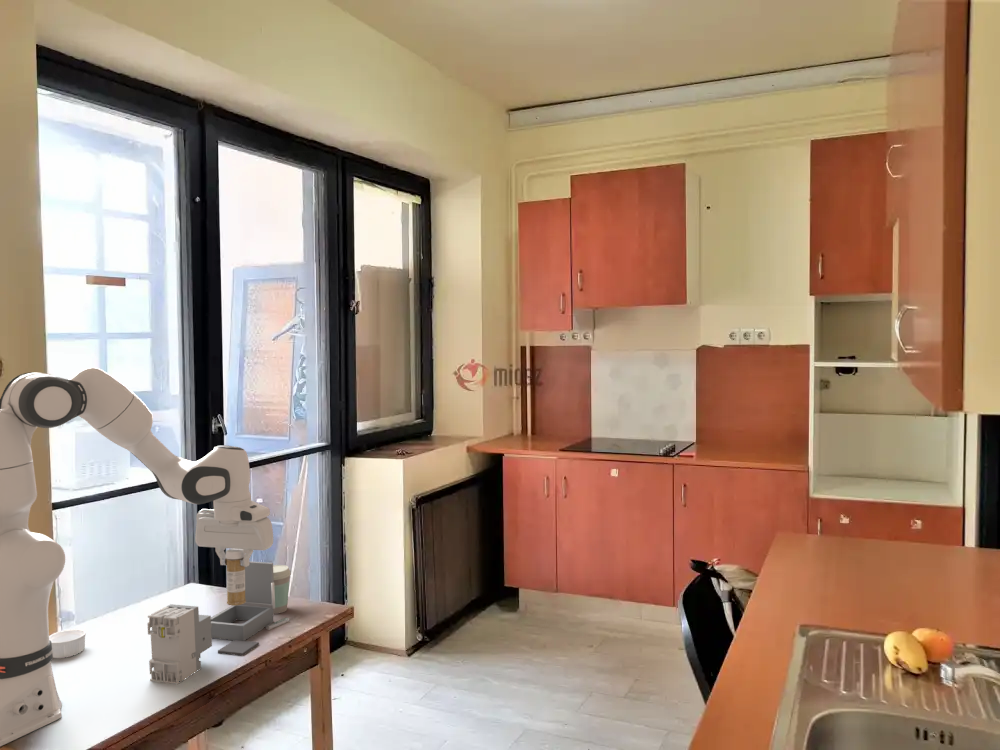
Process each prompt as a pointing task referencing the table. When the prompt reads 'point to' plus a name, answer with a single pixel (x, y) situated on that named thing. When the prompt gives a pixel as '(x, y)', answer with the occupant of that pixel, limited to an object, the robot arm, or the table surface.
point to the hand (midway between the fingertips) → (234, 565)
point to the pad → (238, 647)
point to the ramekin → (67, 643)
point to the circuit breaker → (177, 642)
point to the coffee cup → (281, 587)
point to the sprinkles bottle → (235, 577)
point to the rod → (277, 623)
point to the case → (249, 605)
